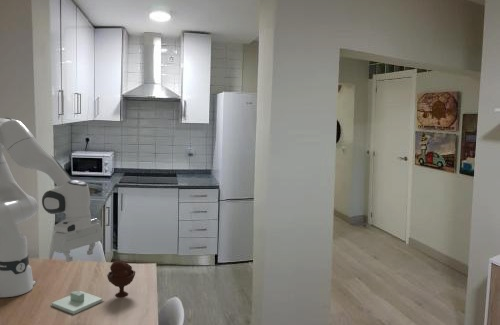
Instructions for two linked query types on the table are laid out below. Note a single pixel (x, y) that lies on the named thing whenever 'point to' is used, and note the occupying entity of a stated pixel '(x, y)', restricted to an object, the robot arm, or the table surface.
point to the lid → (77, 302)
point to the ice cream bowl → (121, 276)
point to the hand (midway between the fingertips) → (80, 257)
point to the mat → (75, 313)
